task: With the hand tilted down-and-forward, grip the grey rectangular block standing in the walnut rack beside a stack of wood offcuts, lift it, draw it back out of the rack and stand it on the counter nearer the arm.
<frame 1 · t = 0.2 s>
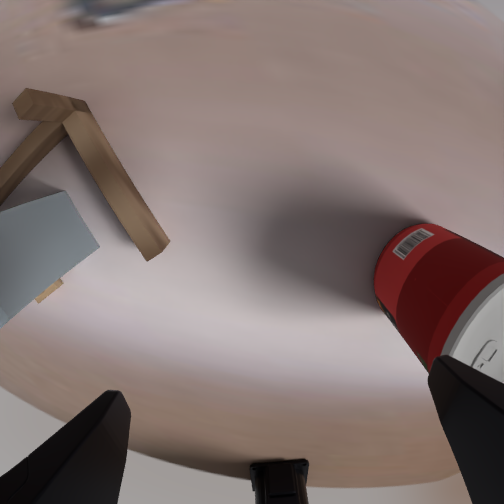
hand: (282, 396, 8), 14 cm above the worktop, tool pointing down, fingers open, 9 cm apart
canned food: (413, 269, 23), on the worktop
grey rectangular block: (68, 230, 21), on the worktop
rack: (68, 230, 21), on the worktop
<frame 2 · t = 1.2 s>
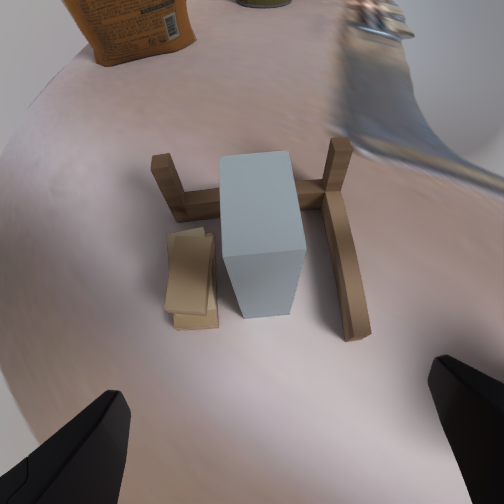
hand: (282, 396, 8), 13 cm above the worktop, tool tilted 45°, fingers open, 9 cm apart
offcut stack: (196, 282, 23), on the worktop
grey rectangular block: (263, 283, 23), on the worktop
rack: (263, 283, 23), on the worktop
canister: (265, 0, 45), on the worktop
pancake mix bag: (143, 55, 38), on the worktop
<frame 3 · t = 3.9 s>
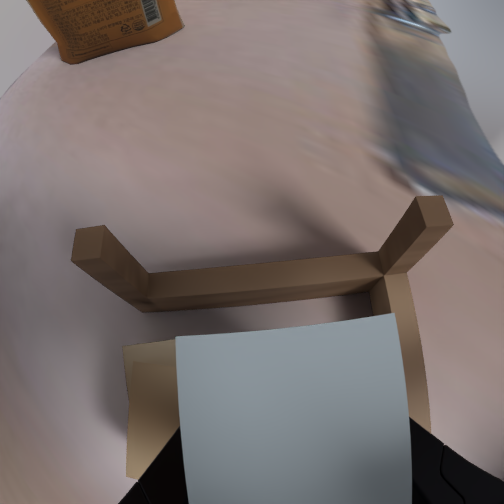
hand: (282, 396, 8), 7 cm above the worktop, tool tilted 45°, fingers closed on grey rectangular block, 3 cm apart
offcut stack: (175, 414, 14), on the worktop
grey rectangular block: (278, 419, 13), on the worktop, touching gripper
rack: (278, 419, 13), on the worktop
pancake mix bag: (117, 47, 29), on the worktop
when the fingers open (7 cm above the worktop, at t = 8.1 s): grey rectangular block stays where it is, on the worktop.
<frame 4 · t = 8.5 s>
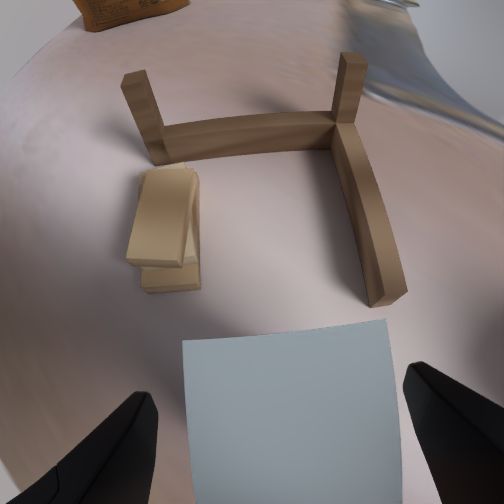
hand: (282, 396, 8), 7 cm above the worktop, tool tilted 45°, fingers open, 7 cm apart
offcut stack: (174, 233, 18), on the worktop
grey rectangular block: (278, 418, 14), on the worktop
rack: (260, 231, 18), on the worktop
pancake mix bag: (134, 19, 33), on the worktop
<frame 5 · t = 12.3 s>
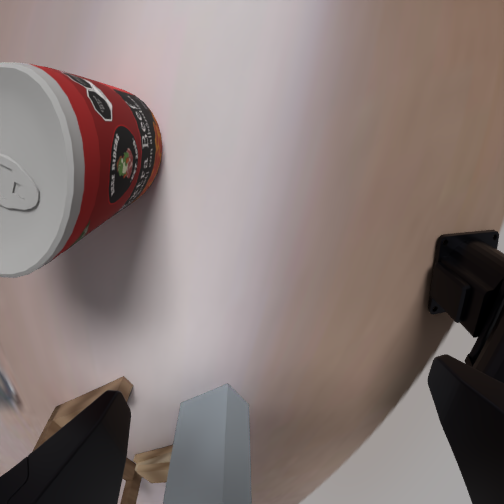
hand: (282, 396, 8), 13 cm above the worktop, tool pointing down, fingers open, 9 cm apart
offcut stack: (165, 456, 28), on the worktop
canned food: (107, 147, 18), on the worktop
grey rectangular block: (214, 404, 25), on the worktop
rack: (136, 431, 27), on the worktop
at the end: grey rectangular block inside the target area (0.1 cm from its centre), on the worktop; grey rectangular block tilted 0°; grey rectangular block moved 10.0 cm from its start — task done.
